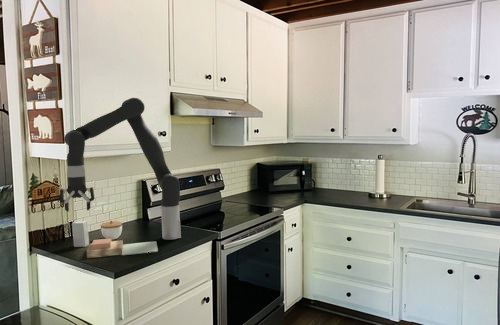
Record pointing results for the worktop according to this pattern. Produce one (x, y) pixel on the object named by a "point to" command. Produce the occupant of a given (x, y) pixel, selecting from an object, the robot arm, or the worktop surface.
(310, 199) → the worktop surface
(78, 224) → the skincare box
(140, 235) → the worktop surface
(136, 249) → the sage mat
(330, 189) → the worktop surface
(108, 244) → the terracotta coaster
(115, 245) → the oak board
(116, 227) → the lidded jar
